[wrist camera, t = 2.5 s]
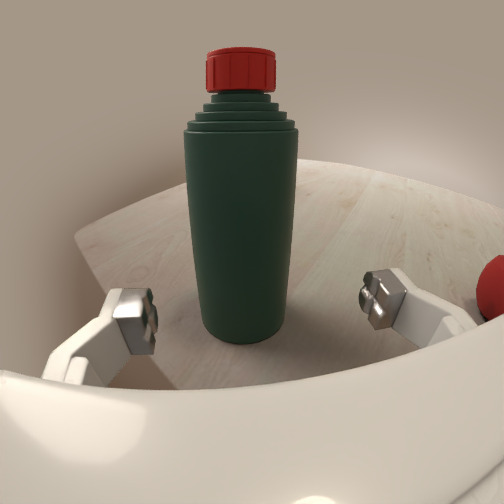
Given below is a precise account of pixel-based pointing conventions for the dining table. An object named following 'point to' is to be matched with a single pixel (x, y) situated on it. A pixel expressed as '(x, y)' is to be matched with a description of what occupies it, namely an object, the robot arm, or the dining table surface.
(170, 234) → the dining table surface
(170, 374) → the dining table surface
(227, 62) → the cap
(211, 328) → the bottle
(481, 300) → the tomato
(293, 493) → the robot arm
